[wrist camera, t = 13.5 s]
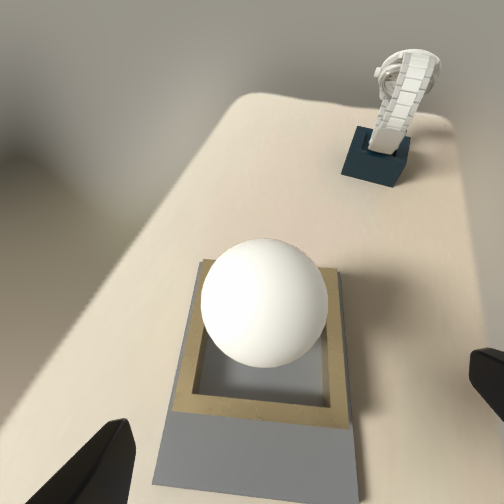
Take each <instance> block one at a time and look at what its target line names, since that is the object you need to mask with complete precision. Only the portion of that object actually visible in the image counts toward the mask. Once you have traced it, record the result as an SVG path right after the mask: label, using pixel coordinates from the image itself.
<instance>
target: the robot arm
mask: <svg viewBox="0 0 504 504" xmlns="http://www.w3.org/2000/svg"><path fill="white" fill-rule="evenodd" d="M469 380H470V382H471V384H472V385H473V387H474V388H475V389H476V390H477V392H478V393H479V394H480V395H481V396H482V397H483V399H484V400H485V401H486V402H487V403H488V404H489V406H490V407H491V408H492V409H493V410H494V411H495V413H496V414H497V415H498V416H499V417H500V418H501V420H502V421H503V422H504V352H502V351H499V350H496V349H492V348H482V349H477V350H474V351H472V353H471V355H470V366H469ZM135 456H136V445H135V441H134V437H133V434H132V431H131V427H130V424H129V422H128V420H127V419H125V418H122V419H117V420H112V421H109V422H107V423H106V424H105V425H104V426H103V427H102V428H101V429H100V430H99V431H98V432H97V433H96V434H95V435H94V436H93V437H92V438H91V439H90V440H89V441H88V442H87V443H86V444H85V445H84V446H83V447H82V448H81V449H80V450H79V451H78V452H77V453H76V454H75V455H74V456H73V457H72V458H71V459H70V460H69V461H68V462H67V463H66V464H65V465H64V466H63V467H62V468H61V469H60V470H58V471H57V472H56V473H55V474H54V475H53V476H52V477H51V478H50V479H49V480H48V481H47V482H46V483H45V484H44V485H43V486H42V487H41V488H40V489H39V490H38V491H37V492H36V493H35V494H34V495H33V496H32V497H31V498H30V499H29V500H28V501H27V502H26V503H25V504H127V501H128V495H129V490H130V484H131V478H132V473H133V467H134V461H135Z"/></svg>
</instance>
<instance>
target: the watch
mask: <svg viewBox="0 0 504 504" xmlns="http://www.w3.org/2000/svg"><path fill="white" fill-rule="evenodd" d="M441 70H442V65H441V62H440V59H439V58H437V57H436V56H435V55H434V54H432V53H430V52H428V51H425V50H420V49H419V50H418V49H410V50H403V51H400V52H397V53H395V54H393V55H392V56H390V57H389V58H387V59H386V60H385V62H384V63H383V65H382V67H381V68H380V67H377V68H376V71H375V74H374V77H379V80H378V82H379V87H380V99H381V100H383V102H382V105H381V107H380V110H379V114H378V116H377V119H376V123H375V126H374V129H370V128H365V127H361V126H357V128H356V131H355V134H354V137H353V140H352V143H351V145H350V148H349V151H348V154H347V157H346V160H345V163H344V166H343V169H342V172H341V174H342V175H346V176H350V177H354V178H358V179H361V180H365V181H369V182H373V183H377V184H381V185H385V186H388V187H393V186H394V184H395V182H396V181H397V179H398V177H399V176H400V174H401V172H402V170H403V169H404V167H405V165H406V162H407V157H408V151H409V145H410V139H411V138H410V137H406V136H405V135H406V132H407V128H408V126H409V124H410V122H411V120H412V118H413V116H414V114H415V112H416V110H417V108H418V105H419V104H418V103H420V101H421V99H422V97H423V96H424V95H425V94H427V93H429V92H430V91H431V90H432V89H433V87H434V86H435V84H436V82H437V79H438V77H439V76H440V73H441ZM383 98H384V99H383ZM382 106H384V107H382ZM408 106H410V107H408ZM385 110H386V111H385ZM389 111H390V112H389ZM409 115H410V116H409ZM379 116H381V117H379Z"/></svg>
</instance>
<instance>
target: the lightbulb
mask: <svg viewBox="0 0 504 504" xmlns="http://www.w3.org/2000/svg"><path fill="white" fill-rule="evenodd" d="M201 312H202V318H203V322H204V324H205V327H206V330H207V332H208V334H209V335H210V337H211V338H212V340H213V341H214V343H215V344H216V346H217V347H218V348H219V349H220V350H221V351H222V352H223V353H225V354H226V355H227V356H229V357H230V358H232V359H234V360H235V361H237V362H240V363H242V364H245V365H247V366H252V367H259V368H271V367H278V366H282V365H285V364H289V363H291V362H293V361H294V360H296V359H298V358H300V357H301V356H302V355H304V354H305V353H306V352H307V351H308V350H310V348H311V347H312V346H313V345H314V343H315V342H316V341H317V339H318V338H319V337H320V335H321V333H322V330H323V328H324V326H325V323H326V318H327V314H328V294H327V289H326V285H325V282H324V280H323V277H322V275H321V273H320V271H319V269H318V268H317V266H316V265H315V263H314V262H313V261H312V260H311V259H310V258H309V257H308V256H307V255H306V254H305V253H304V252H302V251H301V250H300V249H298V248H297V247H295V246H292V245H290V244H288V243H286V242H283V241H279V240H276V239H267V238H264V239H253V240H249V241H245V242H242V243H240V244H237V245H235V246H233V247H232V248H230V249H228V250H227V251H225V252H224V253H223V254H222V255H221V256H220V257H219V258H218V259H217V260H216V261H215V263H214V264H213V265H212V267H211V268H210V270H209V272H208V274H207V276H206V278H205V281H204V284H203V288H202V294H201Z"/></svg>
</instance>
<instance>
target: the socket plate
mask: <svg viewBox="0 0 504 504" xmlns="http://www.w3.org/2000/svg"><path fill="white" fill-rule="evenodd" d="M215 261H216V260H208V259H203V262H200V263H199V268H198V273H197V277H196V282H195V287H194V291H193V296H192V300H191V305H190V310H189V314H188V319H187V324H186V328H185V333H184V338H183V342H182V347H181V351H180V356H179V361H178V365H177V370H176V375H175V379H174V384H173V389H172V393H171V398H170V402H169V407H168V412H167V416H166V421H165V426H164V430H163V435H162V440H161V444H160V449H159V453H158V458H157V463H156V467H155V472H154V477H153V481H152V485H160V486H168V487H176V488H184V489H192V490H200V491H209V492H217V493H225V494H233V495H241V496H249V497H257V498H265V499H273V500H281V501H289V502H297V503H306V504H359V496H358V484H357V472H356V460H355V448H354V436H353V424H352V412H351V400H350V388H349V376H348V364H347V352H346V340H345V328H344V316H343V304H342V292H341V280H340V272H337V269H333V268H319V267H317V268H318V269H319V271H320V273H321V275H322V277H323V280H324V282H325V285H326V289H327V294H328V314H327V318H326V323H325V326H324V328H323V330H322V333H321V335H320V337H319V338H318V339H317V341H316V342H315V343H314V345H313V346H312V347H311V348H310V350H308V351H307V352H306V353H305V354H304V355H302V356H301V357H300V358H298V359H296V360H294V361H293V362H291V363H289V364H285V365H282V366H278V367H271V368H259V367H252V366H247V365H245V364H242V363H240V362H237V361H235V360H234V359H232V358H230V357H229V356H227V355H226V354H225V353H223V352H222V351H221V350H220V349H219V348H218V347H217V346H216V344H215V343H214V341H213V340H212V338H211V337H210V335H209V334H208V332H207V330H206V327H205V324H204V322H203V318H202V312H201V294H202V288H203V284H204V281H205V278H206V276H207V274H208V272H209V270H210V268H211V267H212V265H213V264H214V263H215Z"/></svg>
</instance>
